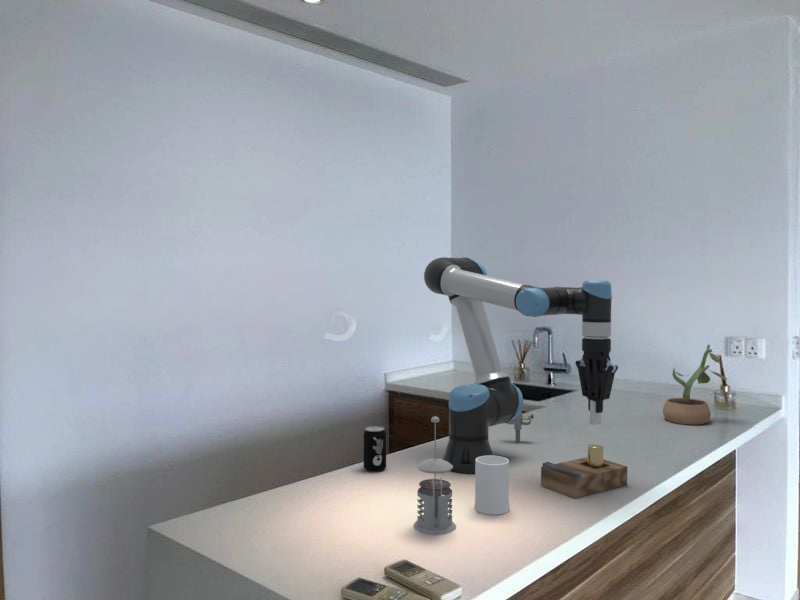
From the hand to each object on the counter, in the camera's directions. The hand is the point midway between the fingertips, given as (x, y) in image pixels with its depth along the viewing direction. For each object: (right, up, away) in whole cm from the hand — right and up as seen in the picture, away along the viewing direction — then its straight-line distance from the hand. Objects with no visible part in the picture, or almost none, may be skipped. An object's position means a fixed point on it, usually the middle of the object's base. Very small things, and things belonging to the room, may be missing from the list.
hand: (595, 423), depth 177 cm
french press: (-45, -18, -31) cm, 57 cm away
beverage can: (-60, -16, +13) cm, 64 cm away
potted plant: (+60, -13, +73) cm, 95 cm away
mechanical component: (-13, -15, +43) cm, 47 cm away
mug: (-30, -17, -18) cm, 39 cm away
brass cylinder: (0, -16, +1) cm, 16 cm away
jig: (-4, -16, -1) cm, 17 cm away
